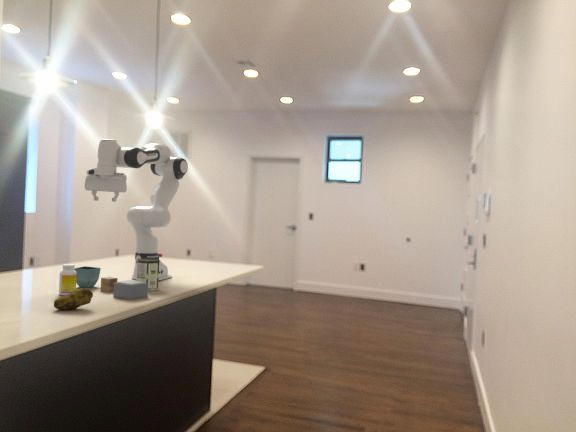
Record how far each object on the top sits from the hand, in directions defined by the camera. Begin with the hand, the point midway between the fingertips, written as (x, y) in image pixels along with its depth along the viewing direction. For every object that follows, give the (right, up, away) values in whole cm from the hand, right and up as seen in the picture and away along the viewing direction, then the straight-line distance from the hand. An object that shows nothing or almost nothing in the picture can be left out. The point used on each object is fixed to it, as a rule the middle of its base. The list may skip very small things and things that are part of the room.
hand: (104, 201), depth 234 cm
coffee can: (+20, -42, 0) cm, 47 cm away
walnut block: (+5, -42, -10) cm, 43 cm away
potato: (+7, -42, -51) cm, 66 cm away
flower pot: (-8, -41, -3) cm, 42 cm away
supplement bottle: (-8, -41, -23) cm, 48 cm away
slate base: (+19, -42, -20) cm, 51 cm away
